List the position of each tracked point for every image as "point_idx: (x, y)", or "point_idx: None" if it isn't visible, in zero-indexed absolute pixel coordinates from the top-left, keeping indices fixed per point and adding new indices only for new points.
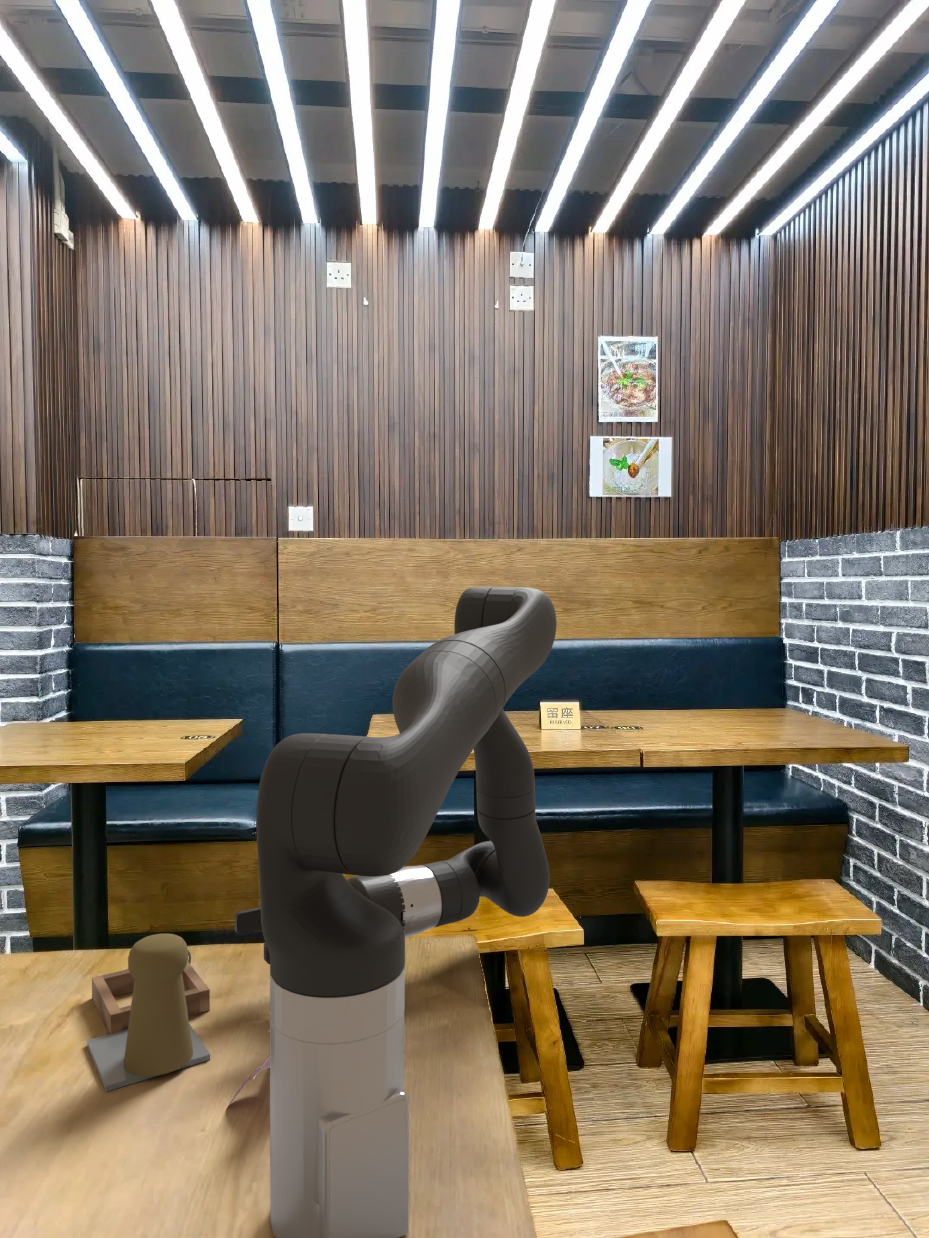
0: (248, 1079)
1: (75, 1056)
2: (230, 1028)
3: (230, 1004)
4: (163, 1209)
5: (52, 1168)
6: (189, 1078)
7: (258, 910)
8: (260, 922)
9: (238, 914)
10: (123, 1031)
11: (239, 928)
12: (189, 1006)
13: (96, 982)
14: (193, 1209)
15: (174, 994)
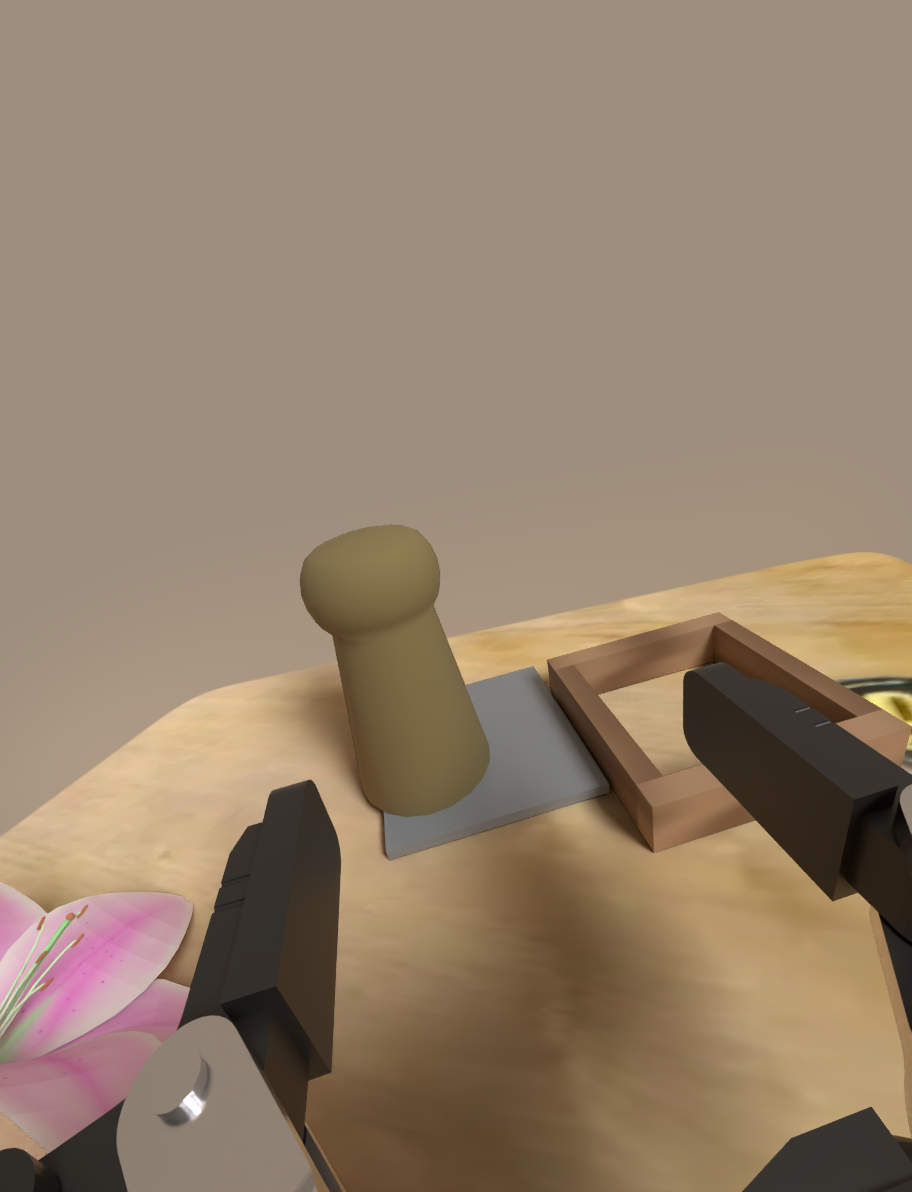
0: (127, 912)
1: (504, 669)
2: (530, 913)
3: (698, 917)
4: (60, 812)
5: (256, 700)
6: (342, 823)
7: (776, 740)
8: (776, 808)
9: (697, 670)
10: (549, 701)
11: (689, 728)
12: (622, 787)
13: (696, 621)
14: (13, 848)
15: (340, 666)
